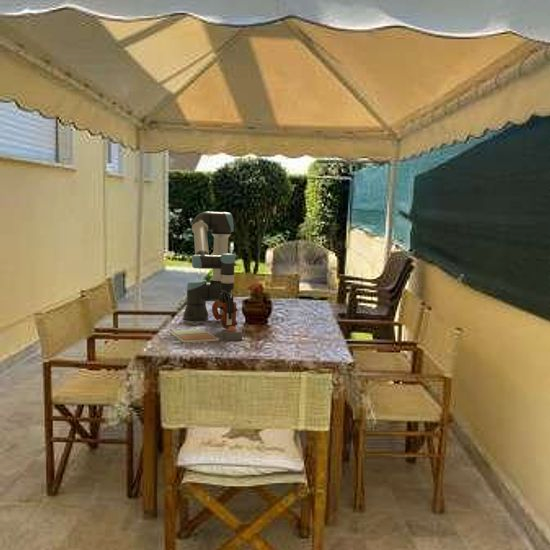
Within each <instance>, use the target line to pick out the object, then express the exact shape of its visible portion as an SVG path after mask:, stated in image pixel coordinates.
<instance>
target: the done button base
mask: <svg viewBox="0 0 550 550" xmlns="http://www.w3.org/2000/svg"><path fill="white" fill-rule="evenodd" d="M242 335H243V331H241V330H239V329H237V328H235V332H229V331H228V329H221V338H222V339H224V340H225V341H240V340H242V337H243V336H242Z"/></svg>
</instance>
